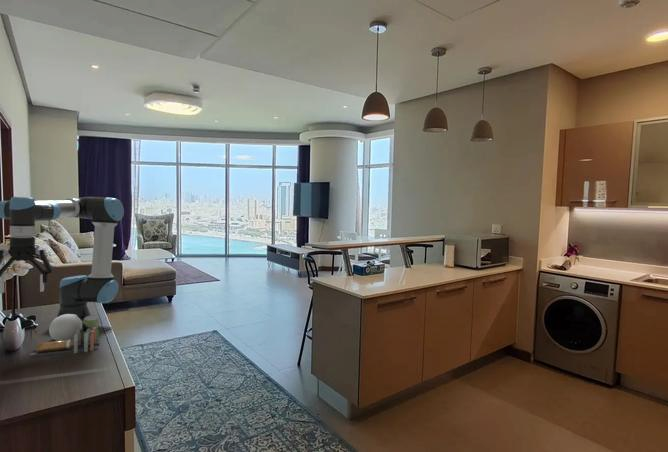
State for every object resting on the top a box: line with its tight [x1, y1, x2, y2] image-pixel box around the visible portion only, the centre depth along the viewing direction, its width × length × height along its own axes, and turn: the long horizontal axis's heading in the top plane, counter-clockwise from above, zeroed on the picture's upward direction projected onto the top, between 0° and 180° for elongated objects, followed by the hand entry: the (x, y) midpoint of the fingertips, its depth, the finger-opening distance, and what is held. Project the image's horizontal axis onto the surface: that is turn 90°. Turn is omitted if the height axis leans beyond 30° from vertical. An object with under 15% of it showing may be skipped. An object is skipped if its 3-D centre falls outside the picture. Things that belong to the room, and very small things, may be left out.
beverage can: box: [81, 314, 100, 343], centre depth 165 cm, size 6×7×12 cm
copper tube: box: [35, 339, 74, 353], centre depth 153 cm, size 12×4×4 cm, turn 116°
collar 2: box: [83, 328, 91, 353], centre depth 157 cm, size 9×1×7 cm, turn 26°
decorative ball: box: [48, 314, 83, 341], centre depth 166 cm, size 12×12×12 cm
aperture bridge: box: [90, 327, 97, 352], centre depth 158 cm, size 8×1×8 cm, turn 26°
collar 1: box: [73, 329, 82, 354], centre depth 155 cm, size 9×1×7 cm, turn 26°
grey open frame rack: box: [27, 342, 101, 359], centre depth 154 cm, size 9×23×2 cm, turn 116°
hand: (22, 291), depth 146 cm, fingers open, 12 cm apart
